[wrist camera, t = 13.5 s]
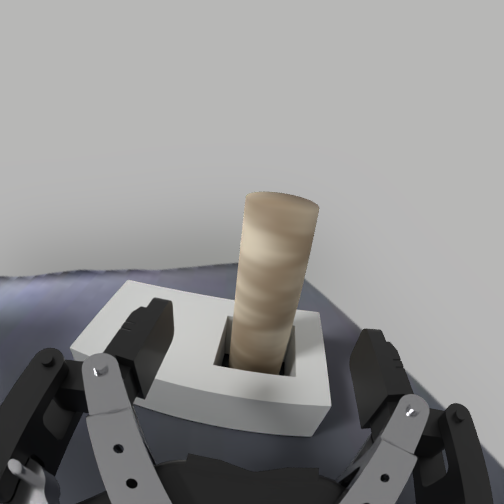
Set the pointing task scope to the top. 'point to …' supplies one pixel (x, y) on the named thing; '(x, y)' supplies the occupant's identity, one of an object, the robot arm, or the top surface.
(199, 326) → the hole block
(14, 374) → the top surface
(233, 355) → the birch peg
